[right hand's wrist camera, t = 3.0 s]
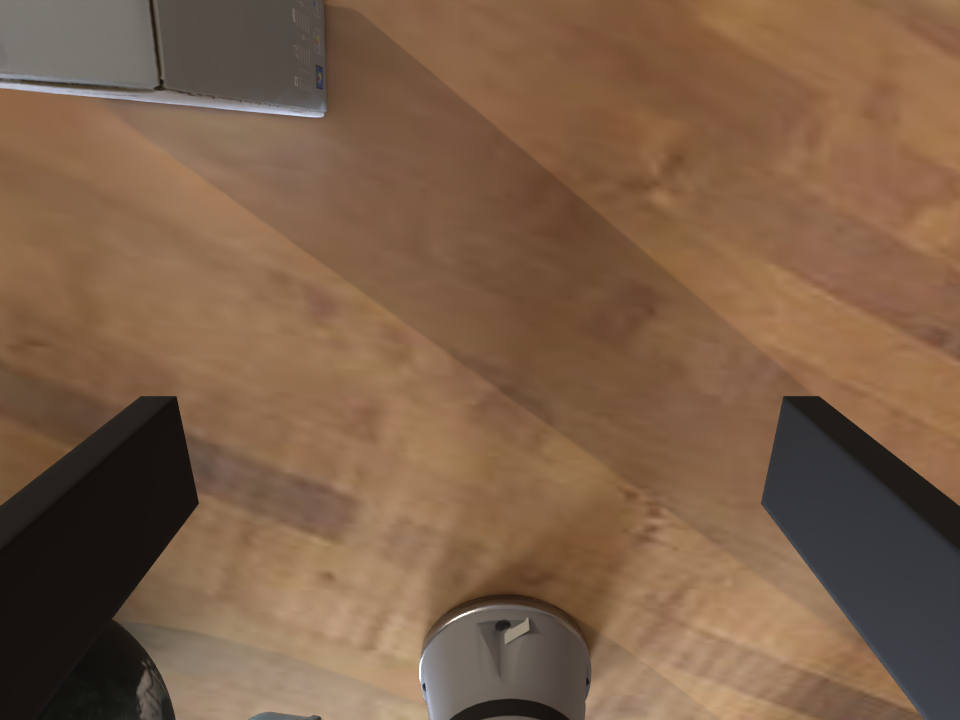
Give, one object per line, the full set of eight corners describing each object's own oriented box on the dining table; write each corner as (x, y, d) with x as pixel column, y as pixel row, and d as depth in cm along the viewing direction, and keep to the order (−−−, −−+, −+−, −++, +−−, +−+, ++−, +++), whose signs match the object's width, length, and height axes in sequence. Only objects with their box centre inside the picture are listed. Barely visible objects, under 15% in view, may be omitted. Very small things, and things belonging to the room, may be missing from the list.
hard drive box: (326, -25, 34) (138, -215, 15) (329, 118, 37) (173, 105, 18) (53, -48, 33) (-482, -273, 15) (77, 98, 36) (-348, 63, 18)
